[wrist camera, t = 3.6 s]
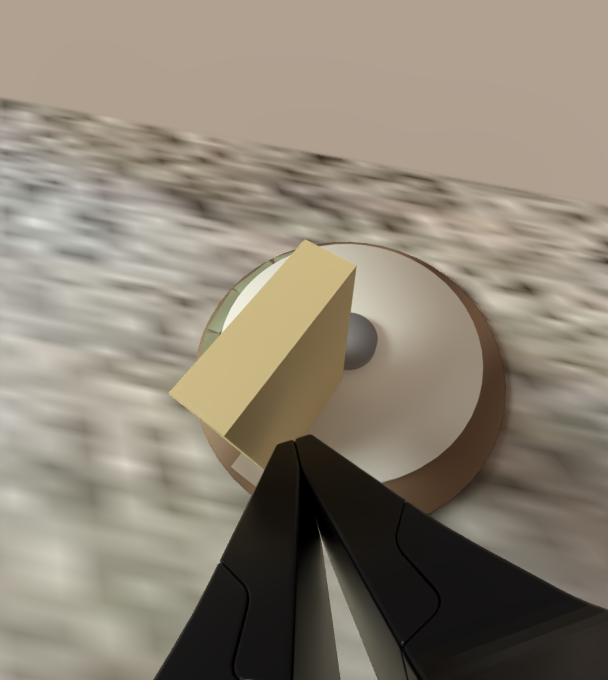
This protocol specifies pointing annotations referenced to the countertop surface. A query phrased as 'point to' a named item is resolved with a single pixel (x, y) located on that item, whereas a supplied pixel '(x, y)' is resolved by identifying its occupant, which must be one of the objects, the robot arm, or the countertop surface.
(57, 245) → the countertop surface
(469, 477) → the base
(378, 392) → the dial
